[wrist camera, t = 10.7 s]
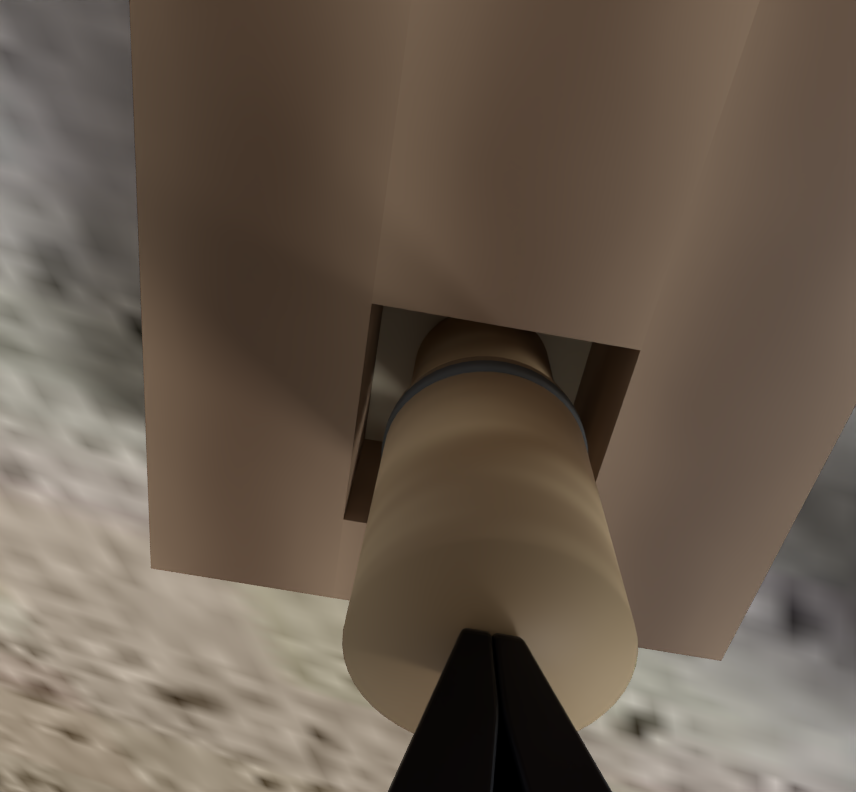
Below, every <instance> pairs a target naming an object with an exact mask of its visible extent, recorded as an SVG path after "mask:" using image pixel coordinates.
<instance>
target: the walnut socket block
mask: <svg viewBox="0 0 856 792" xmlns="http://www.w3.org/2000/svg"><path fill="white" fill-rule="evenodd" d="M129 4H130V30H131V57H132V83H133V109H134V135H135V161H136V188H137V214H138V240H139V266H140V292H141V319H142V345H143V371H144V397H145V423H146V450H147V476H148V502H149V528H150V554H151V568H153V569H159V570H165V571H171V572H177V573H183V574H190V575H196V576H202V577H208V578H214V579H220V580H227V581H233V582H239V583H245V584H251V585H257V586H263V587H270V588H276V589H282V590H288V591H294V592H300V593H307V594H313V595H319V596H325V597H331V598H337V599H344V600H350V597H351V593H352V588H353V584H354V579H355V575H356V570H357V566H358V561H359V557H360V552H361V548H362V543H363V539H364V535H365V530H366V526H367V521H368V517H369V512H370V508H371V503H372V499H373V494H374V490H375V485H376V481H377V476H378V472H379V467H380V463H381V450H382V442H383V438H384V434H385V429H386V425H387V422H388V419H389V417H390V415H391V412H392V411H393V409H394V407H395V405H396V404H397V402H398V401H399V399H400V397H401V396H402V395H403V393H404V392H405V391H406V390H407V388H408V387H409V386H410V385H411V382H412V376H413V371H414V366H415V360H416V356H417V352H418V350H419V347H420V345H421V343H422V341H423V340H424V338H425V337H426V335H427V334H428V333H429V331H430V330H431V329H432V328H433V327H435V326H436V325H437V324H438V323H439V322H441V321H442V320H444V319H445V318H447V317H452V318H458V319H464V320H470V321H475V322H481V323H487V324H493V325H498V326H504V327H510V328H516V329H521V330H527V331H533V332H536V333H537V334H538V335H539V337H540V338H541V340H542V342H543V344H544V346H545V348H546V351H547V354H548V359H549V363H550V367H551V371H552V376H553V380H554V382H555V383H556V384H557V385H558V386H559V387H560V388H561V389H562V390H563V392H564V393H565V394H566V395H567V397H568V398H569V400H570V401H571V402H572V404H573V406H574V407H575V409H576V411H577V412H578V415H579V417H580V420H581V422H582V425H583V429H584V432H585V436H586V440H587V445H588V457H589V460H590V464H591V467H592V471H593V475H594V478H595V482H596V486H597V489H598V493H599V497H600V500H601V504H602V507H603V511H604V515H605V518H606V522H607V526H608V529H609V533H610V537H611V540H612V544H613V547H614V551H615V555H616V558H617V562H618V566H619V569H620V573H621V577H622V580H623V584H624V587H625V591H626V595H627V598H628V602H629V606H630V609H631V613H632V616H633V620H634V624H635V628H636V633H637V637H638V647H639V648H645V649H652V650H658V651H664V652H670V653H676V654H682V655H689V656H695V657H701V658H707V659H713V660H719V661H721V660H722V658H723V656H724V654H725V653H726V651H727V649H728V647H729V645H730V643H731V641H732V639H733V637H734V635H735V634H736V632H737V630H738V628H739V626H740V624H741V622H742V620H743V618H744V616H745V614H746V613H747V611H748V609H749V607H750V605H751V603H752V601H753V599H754V597H755V595H756V594H757V592H758V590H759V588H760V586H761V584H762V582H763V580H764V578H765V576H766V575H767V573H768V571H769V569H770V567H771V565H772V563H773V561H774V559H775V557H776V556H777V554H778V552H779V550H780V548H781V546H782V544H783V542H784V540H785V538H786V537H787V535H788V533H789V531H790V529H791V527H792V525H793V523H794V521H795V519H796V518H797V516H798V514H799V512H800V510H801V508H802V506H803V504H804V502H805V500H806V499H807V497H808V495H809V493H810V491H811V489H812V487H813V485H814V483H815V481H816V480H817V478H818V476H819V474H820V472H821V470H822V468H823V466H824V464H825V462H826V460H827V459H828V457H829V455H830V453H831V451H832V449H833V447H834V445H835V443H836V441H837V440H838V438H839V436H840V434H841V432H842V430H843V428H844V426H845V424H846V422H847V421H848V419H849V417H850V415H851V413H852V411H853V409H854V407H855V405H856V0H129Z"/></svg>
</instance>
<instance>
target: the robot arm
mask: <svg viewBox="0 0 856 792" xmlns="http://www.w3.org/2000/svg"><path fill="white" fill-rule="evenodd" d="M388 792H612V791H611V789H610V788H609V786H608V784H607V782H606V781H605V779H604V777H603V775H602V774H601V772H600V770H599V769H598V767H597V765H596V763H595V762H594V760H593V758H592V757H591V755H590V753H589V751H588V750H587V748H586V746H585V744H584V743H583V741H582V739H581V738H580V736H579V734H578V732H577V731H576V729H575V727H574V725H573V724H572V722H571V720H570V719H569V717H568V715H567V713H566V712H565V710H564V708H563V706H562V705H561V703H560V701H559V700H558V698H557V696H556V694H555V693H554V691H553V689H552V687H551V686H550V684H549V682H548V681H547V679H546V677H545V675H544V674H543V672H542V670H541V668H540V667H539V665H538V663H537V662H536V660H535V658H534V656H533V655H532V653H531V651H530V649H529V648H528V646H527V644H526V643H525V641H524V640H523V639H522V638H521V637H518V636H513V635H506V634H500V633H495V634H493V635H492V636H491V634H490V633H489V632H487V631H482V630H475V629H469V628H464V629H462V630H461V632H460V634H459V636H458V638H457V640H456V642H455V645H454V647H453V649H452V651H451V653H450V656H449V658H448V660H447V662H446V664H445V667H444V669H443V671H442V673H441V675H440V678H439V680H438V682H437V684H436V686H435V689H434V691H433V693H432V695H431V697H430V700H429V702H428V704H427V706H426V708H425V711H424V713H423V715H422V717H421V720H420V722H419V724H418V726H417V728H416V731H415V733H414V735H413V737H412V739H411V742H410V744H409V746H408V748H407V750H406V753H405V755H404V757H403V759H402V761H401V764H400V766H399V768H398V770H397V772H396V775H395V777H394V779H393V781H392V783H391V786H390V788H389V790H388Z"/></svg>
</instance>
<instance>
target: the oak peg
mask: <svg viewBox="0 0 856 792" xmlns="http://www.w3.org/2000/svg"><path fill="white" fill-rule="evenodd" d="M464 628H469V629H475V630H482V631H487V632H489V633H490V634H491V636H492V635H493V634H495V633H500V634H506V635H513V636H518V637H521V638H522V639H523V640H524V641H525V643H526V644H527V646H528V648H529V649H530V651H531V653H532V655H533V656H534V658H535V660H536V662H537V663H538V665H539V667H540V668H541V670H542V672H543V674H544V675H545V677H546V679H547V681H548V682H549V684H550V686H551V687H552V689H553V691H554V693H555V694H556V696H557V698H558V700H559V701H560V703H561V705H562V706H563V708H564V710H565V712H566V713H567V715H568V717H569V719H570V720H571V722H572V724H573V725H574V727H575V729H576V731H579V730H581V729H583V728H584V727H586V726H588V725H589V724H591V723H593V722H594V721H595V720H597V719H598V718H599V717H601V716H602V715H603V714H605V713H606V712H607V711H608V710H609V709H610V708H611V707H612V706H613V705H614V704H615V703H616V702H617V700H618V699H619V698H620V696H621V695H622V694H623V693H624V691H625V689H626V688H627V686H628V684H629V682H630V680H631V678H632V675H633V672H634V670H635V667H636V662H637V655H638V637H637V633H636V628H635V624H634V620H633V616H632V613H631V609H630V606H629V602H628V598H627V595H626V591H625V587H624V584H623V580H622V577H621V573H620V569H619V566H618V562H617V558H616V555H615V551H614V547H613V544H612V540H611V537H610V533H609V529H608V526H607V522H606V518H605V515H604V511H603V507H602V504H601V500H600V497H599V493H598V489H597V486H596V482H595V478H594V475H593V471H592V467H591V464H590V460H589V457H588V445H587V440H586V436H585V432H584V429H583V425H582V422H581V420H580V417H579V415H578V412H577V411H576V409H575V407H574V406H573V404H572V402H571V401H570V400H569V398H568V397H567V395H566V394H565V393H564V392H563V390H562V389H561V388H560V387H559V386H558V385H557V384H556V383H555V382H554V380H553V376H552V371H551V367H550V363H549V359H548V354H547V351H546V348H545V346H544V344H543V342H542V340H541V338H540V337H539V335H538V334H537V333H536V332H533V331H527V330H521V329H516V328H510V327H504V326H498V325H493V324H487V323H481V322H475V321H470V320H464V319H458V318H452V317H447V318H445V319H444V320H442V321H441V322H439V323H438V324H437V325H436V326H435V327H433V328H432V329H431V330H430V331H429V333H428V334H427V335H426V337H425V338H424V340H423V341H422V343H421V345H420V347H419V350H418V352H417V356H416V360H415V366H414V371H413V376H412V382H411V385H410V386H409V387H408V388H407V390H406V391H405V392H404V393H403V395H402V396H401V397H400V399H399V401H398V402H397V404H396V405H395V407H394V409H393V411H392V412H391V415H390V417H389V419H388V422H387V425H386V429H385V434H384V438H383V442H382V450H381V463H380V467H379V472H378V476H377V481H376V485H375V490H374V494H373V499H372V503H371V508H370V512H369V517H368V521H367V526H366V530H365V535H364V539H363V543H362V548H361V552H360V557H359V561H358V566H357V570H356V575H355V579H354V584H353V588H352V593H351V597H350V602H349V606H348V611H347V615H346V620H345V624H344V629H343V641H342V646H343V654H344V660H345V663H346V666H347V669H348V672H349V674H350V676H351V678H352V680H353V682H354V684H355V685H356V687H357V688H358V690H359V691H360V693H361V694H362V696H363V697H364V698H365V699H366V700H367V701H368V702H369V703H370V704H371V705H372V706H373V707H374V708H375V709H376V710H377V711H379V712H380V713H381V714H382V715H383V716H385V717H386V718H388V719H389V720H391V721H392V722H394V723H395V724H397V725H398V726H400V727H402V728H404V729H406V730H408V731H410V732H412V733H415V731H416V728H417V726H418V724H419V722H420V720H421V717H422V715H423V713H424V711H425V708H426V706H427V704H428V702H429V700H430V697H431V695H432V693H433V691H434V689H435V686H436V684H437V682H438V680H439V678H440V675H441V673H442V671H443V669H444V667H445V664H446V662H447V660H448V658H449V656H450V653H451V651H452V649H453V647H454V645H455V642H456V640H457V638H458V636H459V634H460V632H461V630H462V629H464Z"/></svg>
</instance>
